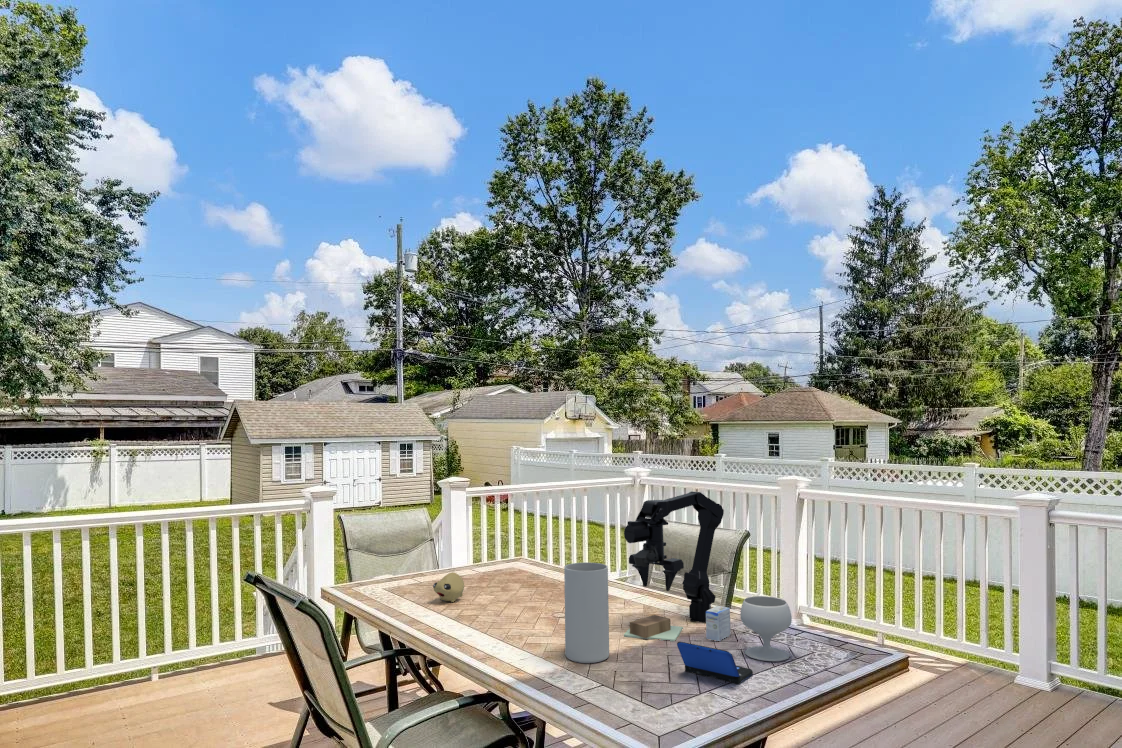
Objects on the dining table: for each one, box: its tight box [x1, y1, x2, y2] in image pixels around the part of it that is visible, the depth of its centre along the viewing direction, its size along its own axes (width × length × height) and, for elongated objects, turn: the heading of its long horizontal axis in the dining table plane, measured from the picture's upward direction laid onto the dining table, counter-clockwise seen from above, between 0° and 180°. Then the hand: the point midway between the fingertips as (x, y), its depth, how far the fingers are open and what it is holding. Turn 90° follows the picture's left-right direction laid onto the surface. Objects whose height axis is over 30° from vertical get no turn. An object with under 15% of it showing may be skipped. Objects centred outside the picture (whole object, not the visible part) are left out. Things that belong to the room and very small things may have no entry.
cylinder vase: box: [563, 561, 610, 664], centre depth 190 cm, size 12×12×25 cm
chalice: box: [739, 595, 793, 662], centre depth 189 cm, size 14×14×15 cm
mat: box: [623, 625, 684, 642], centre depth 211 cm, size 16×14×1 cm
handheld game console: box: [676, 641, 754, 685], centre depth 174 cm, size 16×13×9 cm
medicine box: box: [705, 605, 731, 642], centre depth 205 cm, size 8×4×9 cm, turn 141°
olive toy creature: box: [432, 571, 465, 603], centre depth 253 cm, size 10×12×11 cm
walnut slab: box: [629, 614, 672, 638], centre depth 210 cm, size 6×4×12 cm
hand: (656, 588), depth 216 cm, fingers open, 9 cm apart
